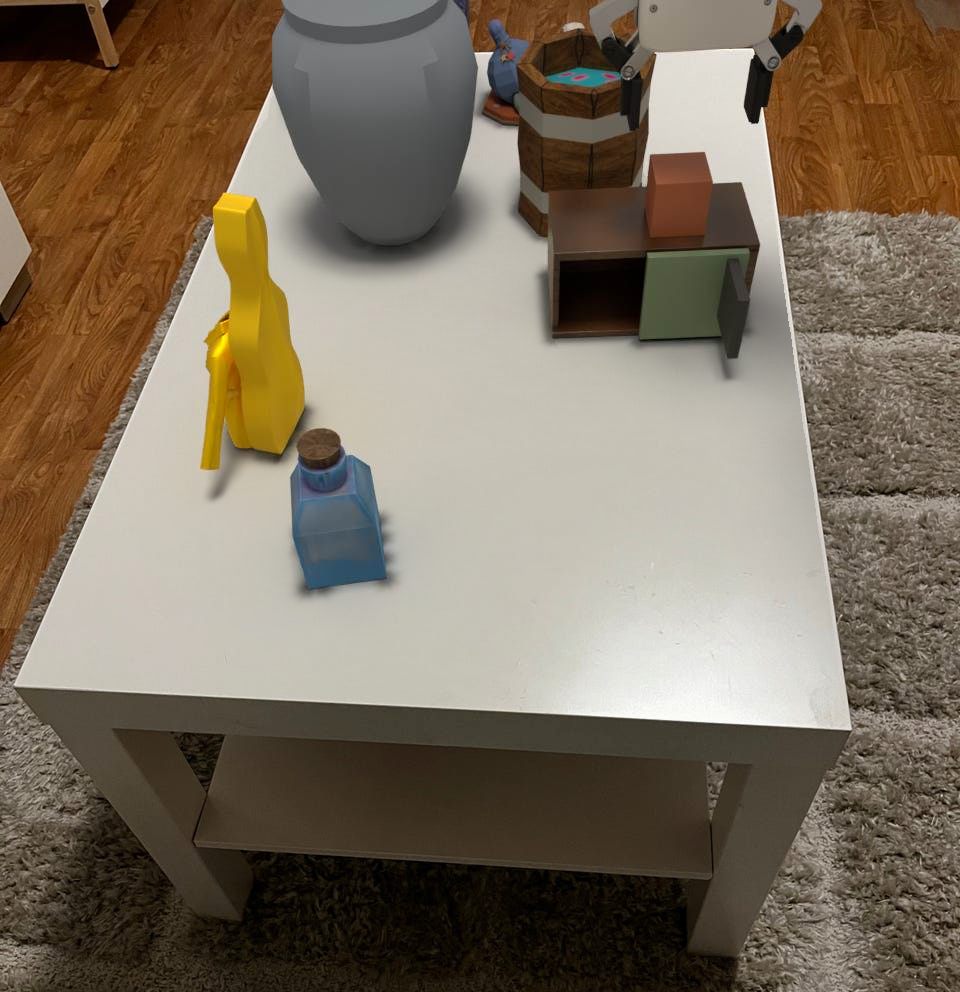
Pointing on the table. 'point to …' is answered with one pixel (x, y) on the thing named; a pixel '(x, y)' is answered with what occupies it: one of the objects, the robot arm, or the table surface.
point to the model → (503, 76)
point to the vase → (377, 107)
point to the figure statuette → (250, 342)
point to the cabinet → (624, 253)
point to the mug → (575, 121)
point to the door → (696, 296)
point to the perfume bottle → (334, 513)
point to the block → (678, 194)
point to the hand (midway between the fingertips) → (691, 119)
